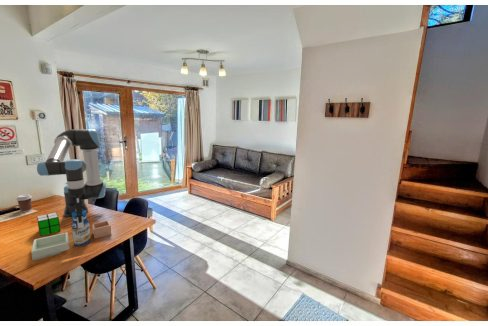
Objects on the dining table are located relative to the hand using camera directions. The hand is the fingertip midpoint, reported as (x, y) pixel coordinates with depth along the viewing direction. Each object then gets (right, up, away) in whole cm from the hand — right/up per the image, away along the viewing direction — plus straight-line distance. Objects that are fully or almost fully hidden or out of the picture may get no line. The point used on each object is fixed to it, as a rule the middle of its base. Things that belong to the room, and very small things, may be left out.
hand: (80, 223), depth 133 cm
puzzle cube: (-32, -10, +17) cm, 38 cm away
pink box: (+4, -11, +14) cm, 18 cm away
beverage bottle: (0, -13, +3) cm, 13 cm away
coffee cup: (-77, -3, +49) cm, 91 cm away
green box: (-13, -14, -3) cm, 19 cm away
